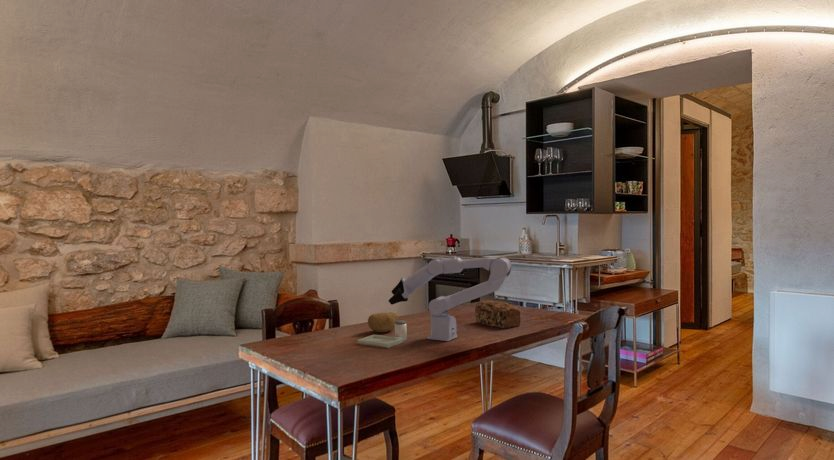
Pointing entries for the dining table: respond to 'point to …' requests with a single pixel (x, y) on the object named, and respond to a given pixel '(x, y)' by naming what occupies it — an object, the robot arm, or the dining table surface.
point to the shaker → (401, 329)
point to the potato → (382, 321)
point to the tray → (380, 341)
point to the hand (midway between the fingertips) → (391, 297)
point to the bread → (497, 314)
